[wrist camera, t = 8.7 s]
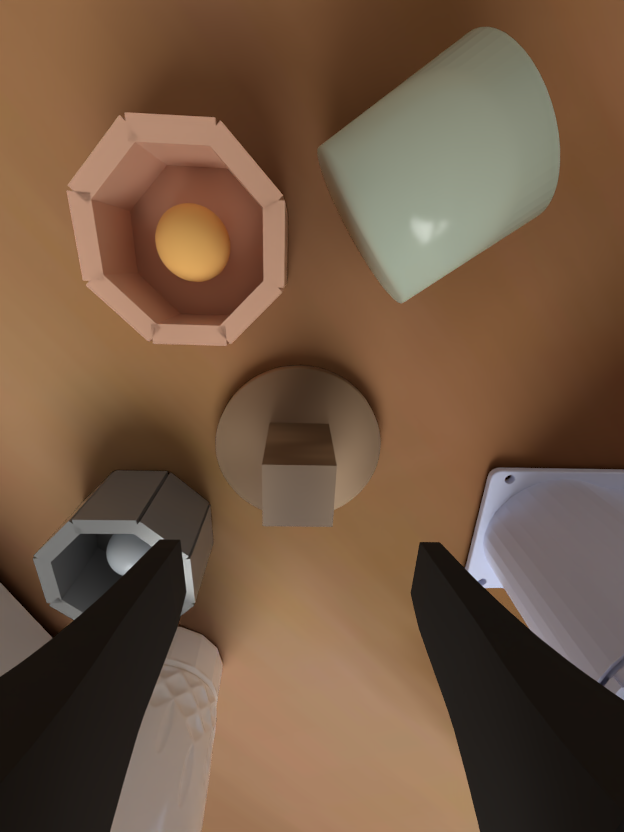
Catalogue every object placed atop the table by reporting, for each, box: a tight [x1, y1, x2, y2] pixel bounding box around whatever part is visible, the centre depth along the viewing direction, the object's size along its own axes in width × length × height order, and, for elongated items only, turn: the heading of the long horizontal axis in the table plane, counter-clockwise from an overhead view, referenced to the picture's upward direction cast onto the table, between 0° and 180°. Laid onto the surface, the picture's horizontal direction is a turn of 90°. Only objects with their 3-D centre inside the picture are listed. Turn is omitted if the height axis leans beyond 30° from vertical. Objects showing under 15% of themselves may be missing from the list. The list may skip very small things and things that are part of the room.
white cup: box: [110, 627, 223, 832], centre depth 20 cm, size 8×8×10 cm
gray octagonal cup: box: [33, 470, 213, 620], centre depth 19 cm, size 7×7×4 cm
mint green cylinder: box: [317, 27, 560, 303], centre depth 12 cm, size 5×6×6 cm
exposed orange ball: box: [155, 203, 230, 282], centre depth 14 cm, size 3×3×3 cm
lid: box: [216, 365, 381, 527], centre depth 17 cm, size 8×8×5 cm
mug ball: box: [106, 534, 151, 575], centre depth 19 cm, size 3×3×3 cm
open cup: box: [67, 112, 288, 346], centre depth 14 cm, size 7×7×4 cm
